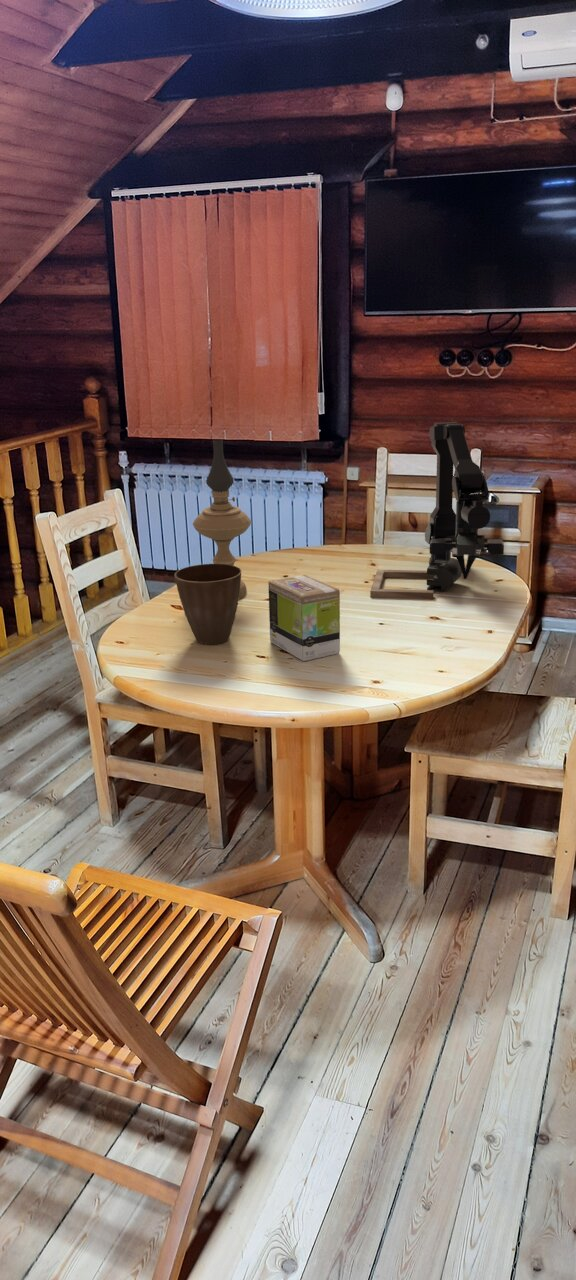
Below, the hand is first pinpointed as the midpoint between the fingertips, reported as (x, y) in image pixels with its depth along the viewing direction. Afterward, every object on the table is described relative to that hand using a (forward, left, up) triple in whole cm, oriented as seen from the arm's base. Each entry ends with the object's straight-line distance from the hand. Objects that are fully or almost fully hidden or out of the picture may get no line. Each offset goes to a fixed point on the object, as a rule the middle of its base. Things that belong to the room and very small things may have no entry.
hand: (465, 578), depth 246 cm
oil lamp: (+11, -62, -3) cm, 63 cm away
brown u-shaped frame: (0, -15, -3) cm, 15 cm away
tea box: (+48, -35, -3) cm, 59 cm away
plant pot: (+45, -57, -3) cm, 73 cm away
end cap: (-1, -5, -3) cm, 6 cm away
